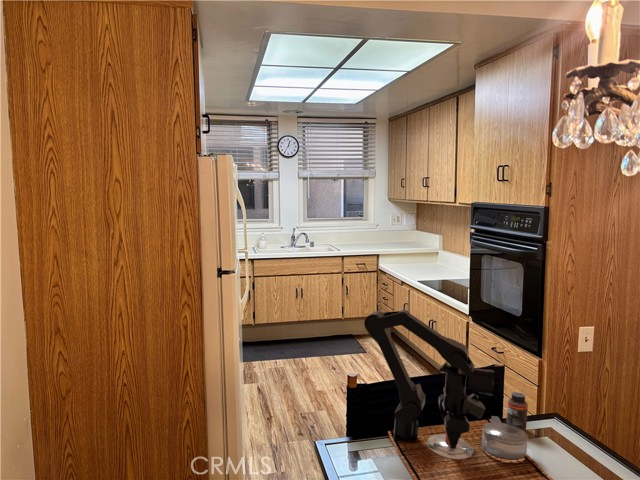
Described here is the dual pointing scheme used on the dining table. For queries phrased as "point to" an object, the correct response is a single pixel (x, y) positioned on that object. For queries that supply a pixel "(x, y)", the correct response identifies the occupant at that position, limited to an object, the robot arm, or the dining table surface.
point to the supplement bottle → (517, 411)
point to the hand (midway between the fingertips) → (450, 440)
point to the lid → (449, 447)
